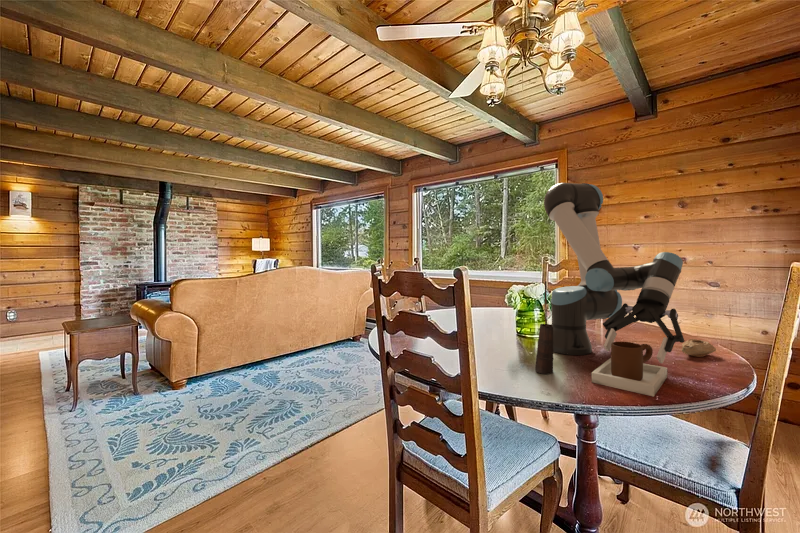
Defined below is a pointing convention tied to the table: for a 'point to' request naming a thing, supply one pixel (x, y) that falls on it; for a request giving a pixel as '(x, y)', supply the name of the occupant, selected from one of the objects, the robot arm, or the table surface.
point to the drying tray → (647, 385)
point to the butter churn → (545, 345)
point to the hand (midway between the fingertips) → (631, 354)
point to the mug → (629, 359)
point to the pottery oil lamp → (697, 348)
